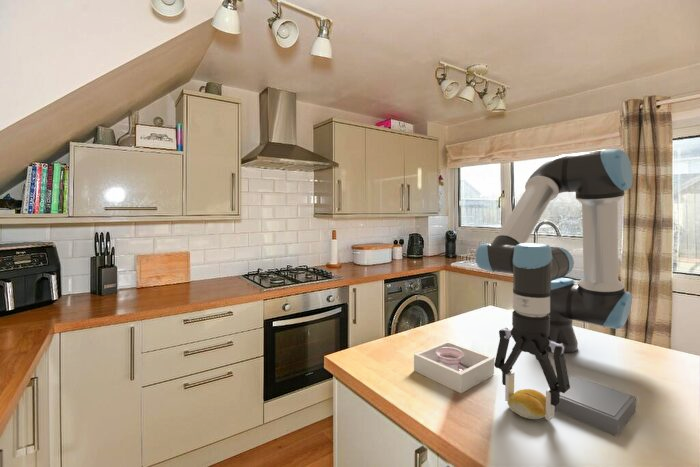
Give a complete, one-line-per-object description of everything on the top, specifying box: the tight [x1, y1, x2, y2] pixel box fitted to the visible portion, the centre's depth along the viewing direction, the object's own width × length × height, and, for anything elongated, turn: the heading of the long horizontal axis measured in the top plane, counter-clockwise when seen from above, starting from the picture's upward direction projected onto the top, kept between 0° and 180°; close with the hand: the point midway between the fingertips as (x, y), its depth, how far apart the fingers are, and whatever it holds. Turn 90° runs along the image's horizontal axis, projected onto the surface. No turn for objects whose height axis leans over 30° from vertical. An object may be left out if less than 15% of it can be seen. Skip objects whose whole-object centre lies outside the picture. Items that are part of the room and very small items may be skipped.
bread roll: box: [507, 388, 546, 420], centre depth 79 cm, size 8×9×4 cm
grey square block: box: [555, 374, 637, 437], centre depth 81 cm, size 14×14×4 cm
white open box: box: [413, 340, 495, 394], centre depth 99 cm, size 16×16×5 cm
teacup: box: [436, 347, 467, 371], centre depth 99 cm, size 12×12×6 cm
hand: (528, 407), depth 79 cm, fingers closed on bread roll, 8 cm apart
